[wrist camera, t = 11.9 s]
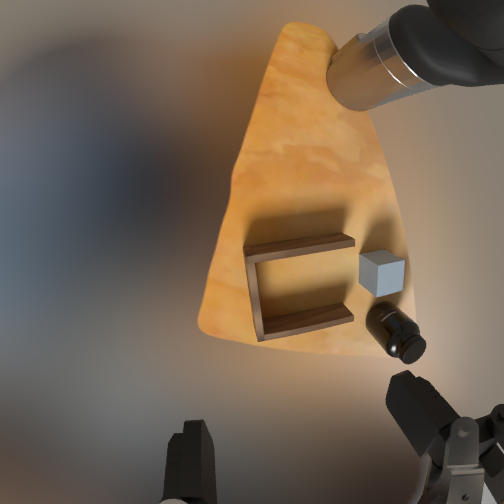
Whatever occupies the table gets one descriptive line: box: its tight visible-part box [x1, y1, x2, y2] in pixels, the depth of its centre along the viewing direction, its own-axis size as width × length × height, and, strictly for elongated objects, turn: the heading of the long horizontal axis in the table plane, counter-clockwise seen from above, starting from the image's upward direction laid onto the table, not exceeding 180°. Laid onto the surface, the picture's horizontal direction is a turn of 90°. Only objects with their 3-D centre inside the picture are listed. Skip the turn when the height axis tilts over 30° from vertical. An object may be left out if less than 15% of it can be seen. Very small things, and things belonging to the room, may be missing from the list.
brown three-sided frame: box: [243, 232, 355, 342], centre depth 39 cm, size 13×15×4 cm
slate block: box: [359, 249, 405, 297], centre depth 39 cm, size 5×5×6 cm
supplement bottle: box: [366, 302, 426, 364], centre depth 39 cm, size 7×7×12 cm
